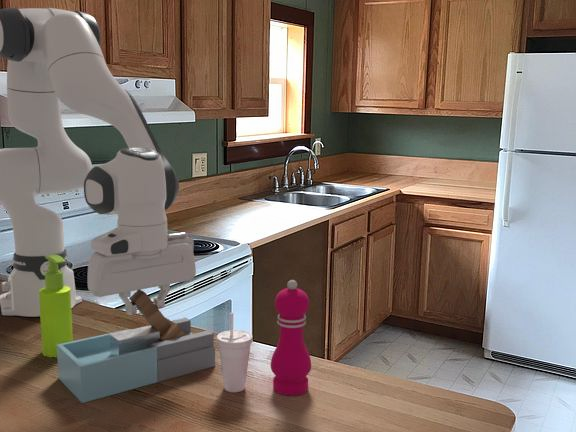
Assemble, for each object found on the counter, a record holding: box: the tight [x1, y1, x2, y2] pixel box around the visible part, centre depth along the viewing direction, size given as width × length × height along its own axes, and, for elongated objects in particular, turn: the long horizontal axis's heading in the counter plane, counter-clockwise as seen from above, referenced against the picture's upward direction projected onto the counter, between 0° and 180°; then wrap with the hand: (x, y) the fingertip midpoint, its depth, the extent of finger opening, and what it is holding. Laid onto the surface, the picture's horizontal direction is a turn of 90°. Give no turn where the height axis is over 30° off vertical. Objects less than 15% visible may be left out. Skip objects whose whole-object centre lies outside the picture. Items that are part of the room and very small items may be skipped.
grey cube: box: [130, 324, 160, 350], centre depth 118 cm, size 4×4×4 cm
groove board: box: [149, 317, 216, 383], centre depth 122 cm, size 12×12×6 cm
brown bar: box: [128, 289, 186, 342], centre depth 119 cm, size 6×4×12 cm
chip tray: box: [56, 328, 159, 404], centre depth 115 cm, size 12×14×6 cm
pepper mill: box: [270, 279, 312, 397], centre depth 111 cm, size 7×7×20 cm
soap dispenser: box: [39, 255, 74, 358], centre depth 126 cm, size 6×7×20 cm
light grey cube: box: [110, 329, 140, 357], centre depth 116 cm, size 4×4×4 cm
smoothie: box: [216, 311, 254, 393], centre depth 112 cm, size 6×6×14 cm
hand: (145, 310), depth 117 cm, fingers closed on brown bar, 4 cm apart
